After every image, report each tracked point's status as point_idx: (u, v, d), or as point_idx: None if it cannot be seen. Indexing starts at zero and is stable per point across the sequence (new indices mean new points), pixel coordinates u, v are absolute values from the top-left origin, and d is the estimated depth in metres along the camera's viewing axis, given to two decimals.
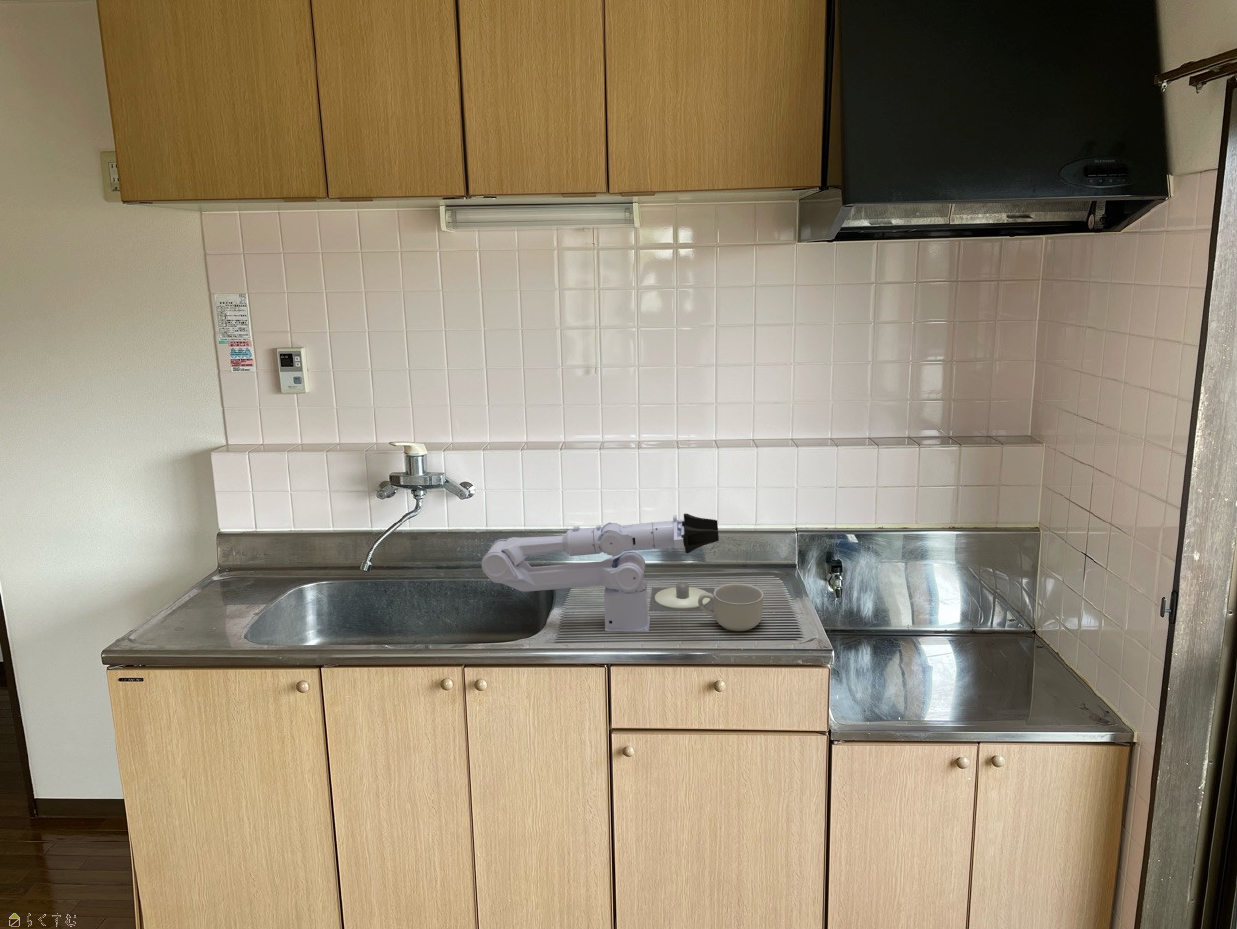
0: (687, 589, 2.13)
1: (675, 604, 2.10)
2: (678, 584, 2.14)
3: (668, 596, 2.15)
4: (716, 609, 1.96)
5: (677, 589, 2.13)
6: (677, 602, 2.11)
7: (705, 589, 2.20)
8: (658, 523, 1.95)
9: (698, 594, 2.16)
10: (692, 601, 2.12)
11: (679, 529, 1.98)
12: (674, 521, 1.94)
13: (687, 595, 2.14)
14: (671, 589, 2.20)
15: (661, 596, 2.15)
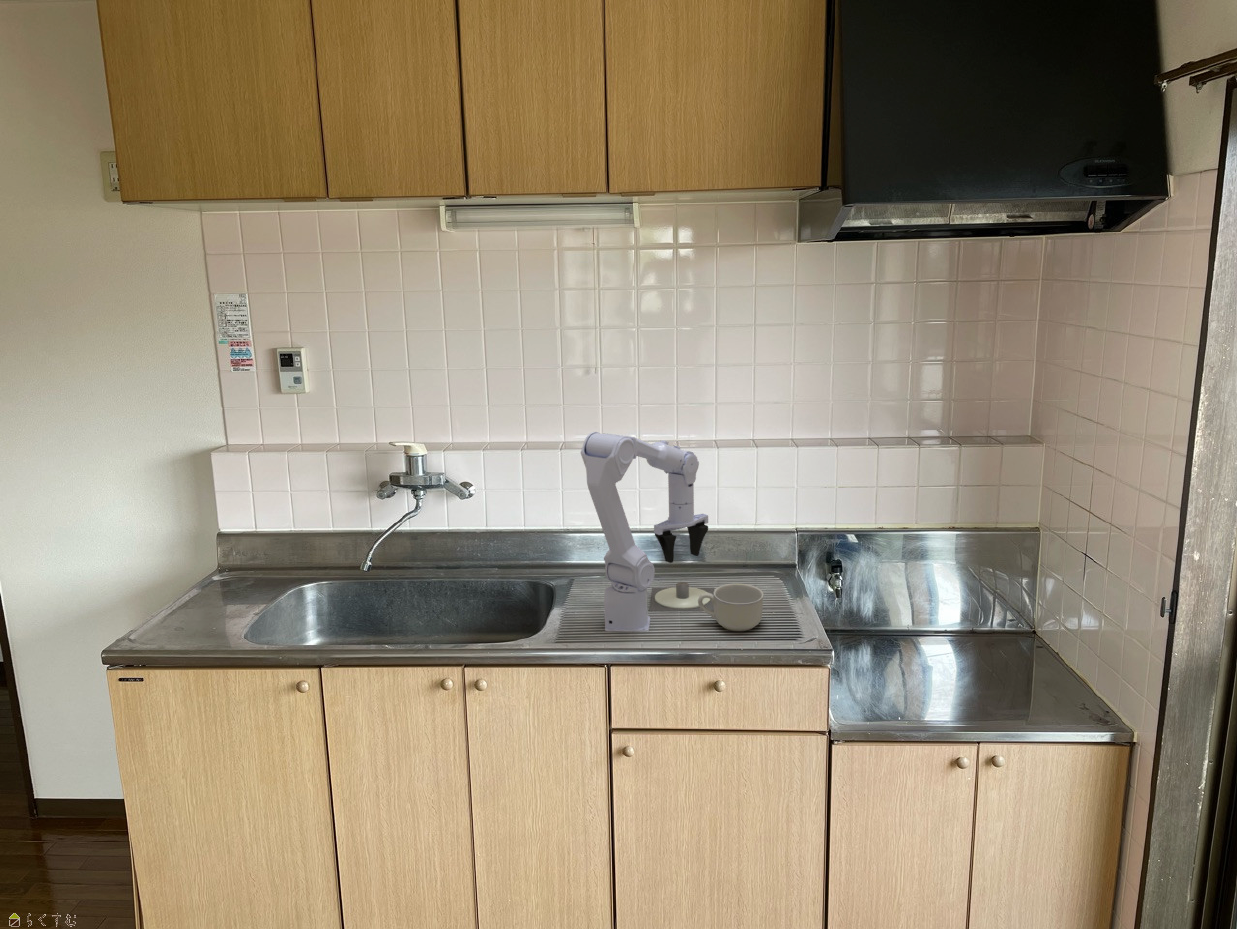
0: (687, 589, 2.13)
1: (675, 604, 2.10)
2: (678, 584, 2.14)
3: (668, 596, 2.15)
4: (716, 609, 1.96)
5: (677, 589, 2.13)
6: (677, 602, 2.11)
7: (705, 589, 2.20)
8: None
9: (698, 594, 2.16)
10: (692, 601, 2.12)
11: None
12: None
13: (687, 595, 2.14)
14: (671, 589, 2.20)
15: (661, 596, 2.15)
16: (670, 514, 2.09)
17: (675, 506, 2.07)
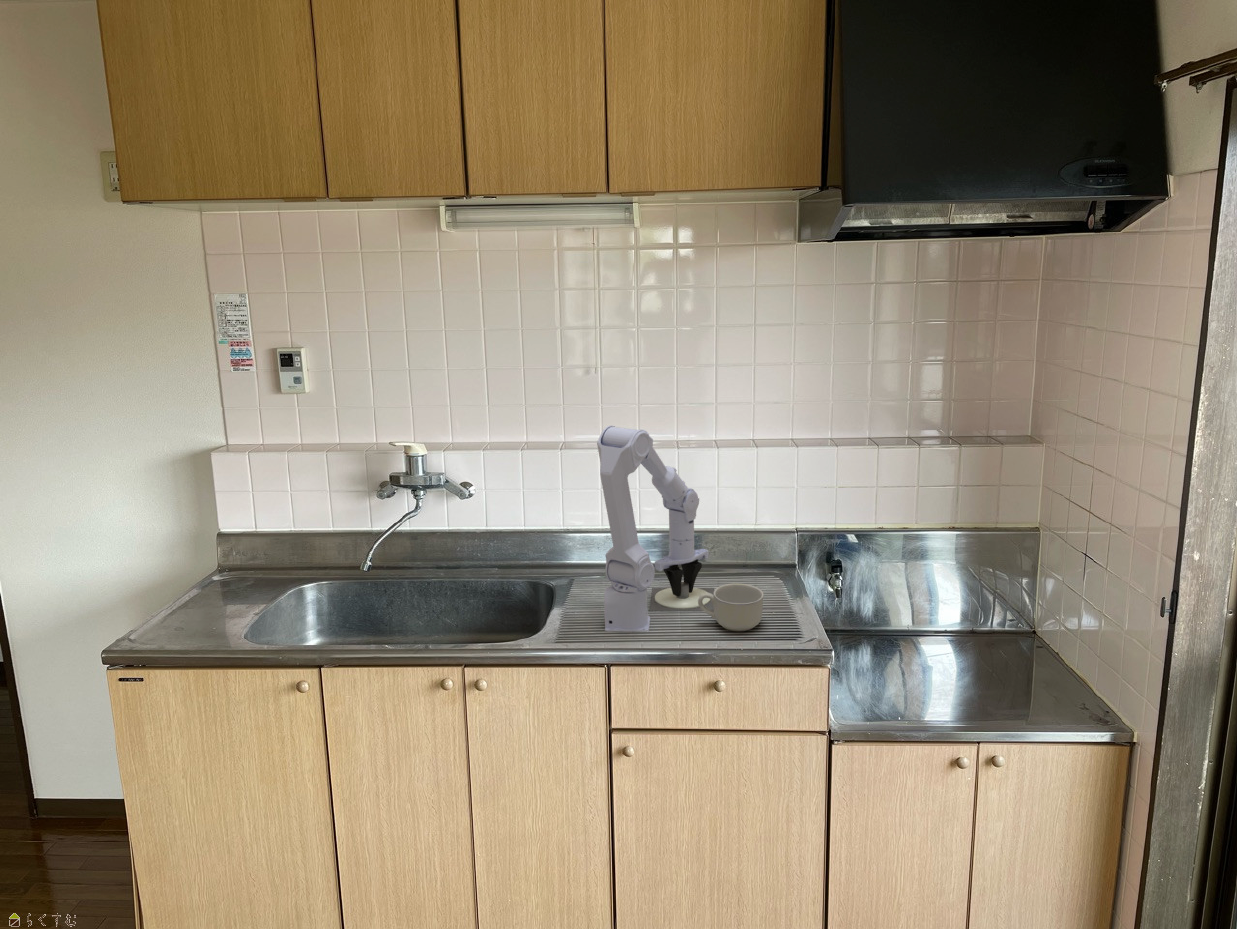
0: (687, 589, 2.13)
1: (675, 604, 2.10)
2: None
3: (668, 596, 2.15)
4: (716, 609, 1.96)
5: None
6: (677, 602, 2.11)
7: (705, 589, 2.20)
8: None
9: (698, 594, 2.16)
10: (692, 601, 2.12)
11: None
12: None
13: (687, 595, 2.14)
14: (671, 589, 2.20)
15: (661, 596, 2.15)
16: (671, 550, 2.11)
17: (676, 542, 2.09)
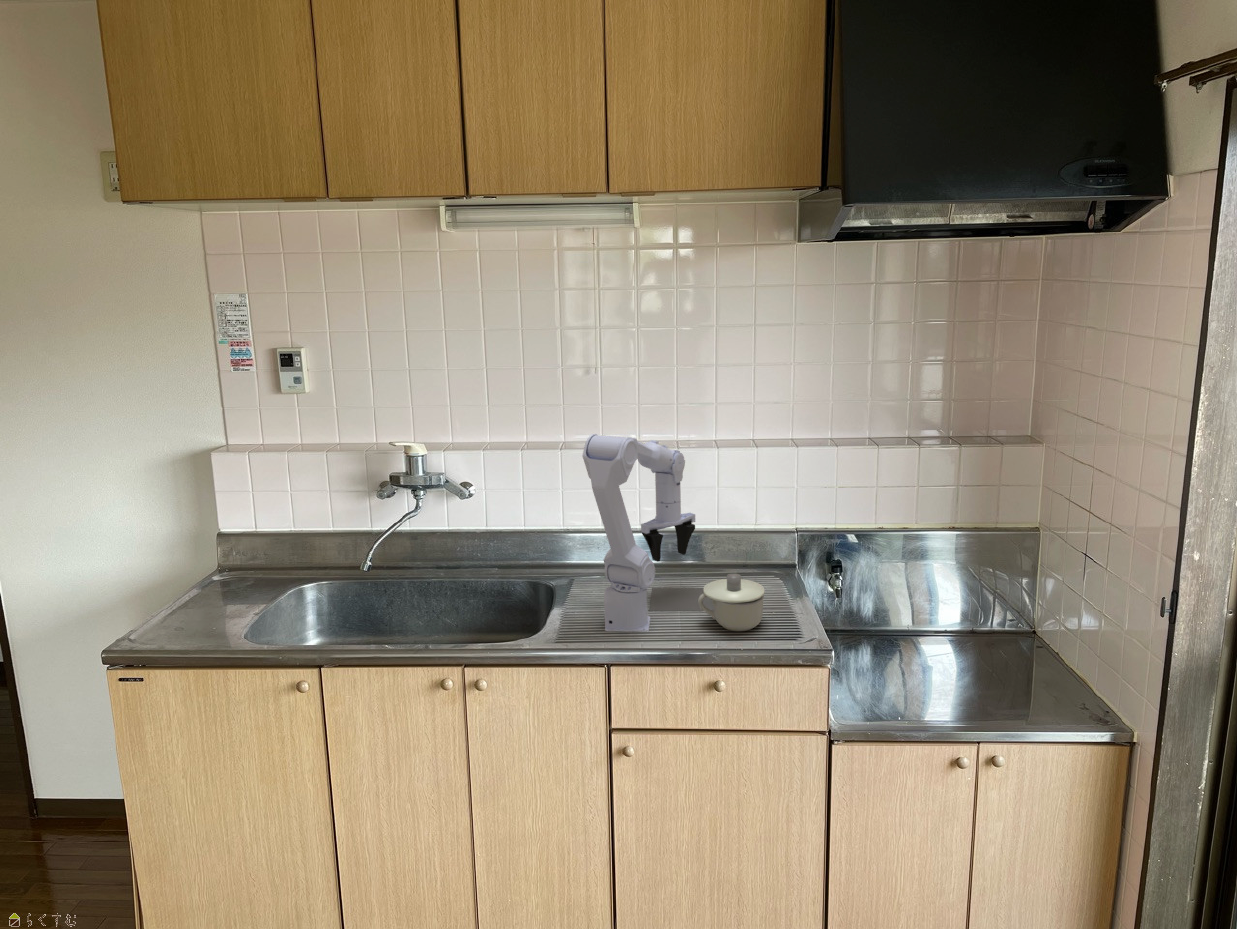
0: (738, 581, 1.96)
1: (723, 596, 1.93)
2: (729, 575, 1.97)
3: (718, 588, 1.98)
4: (716, 609, 1.96)
5: (727, 580, 1.96)
6: (726, 594, 1.94)
7: None
8: None
9: (751, 587, 1.98)
10: (743, 594, 1.94)
11: None
12: None
13: (738, 588, 1.96)
14: (724, 580, 2.03)
15: (711, 587, 1.98)
16: (657, 513, 2.10)
17: (662, 505, 2.09)
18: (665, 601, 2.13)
